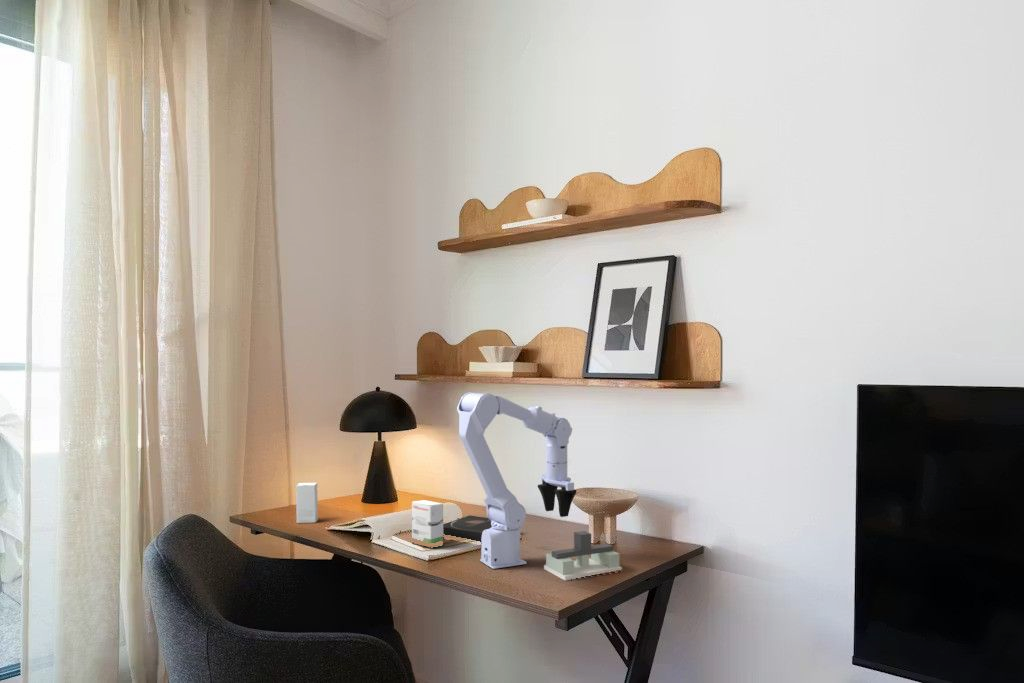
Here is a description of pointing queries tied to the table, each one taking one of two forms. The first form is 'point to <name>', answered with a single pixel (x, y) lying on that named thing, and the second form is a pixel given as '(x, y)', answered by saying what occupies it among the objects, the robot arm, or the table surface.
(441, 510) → the ink box
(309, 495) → the skincare box
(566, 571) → the stand
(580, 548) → the grey inverted t block
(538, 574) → the table surface
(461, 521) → the portable cd player
